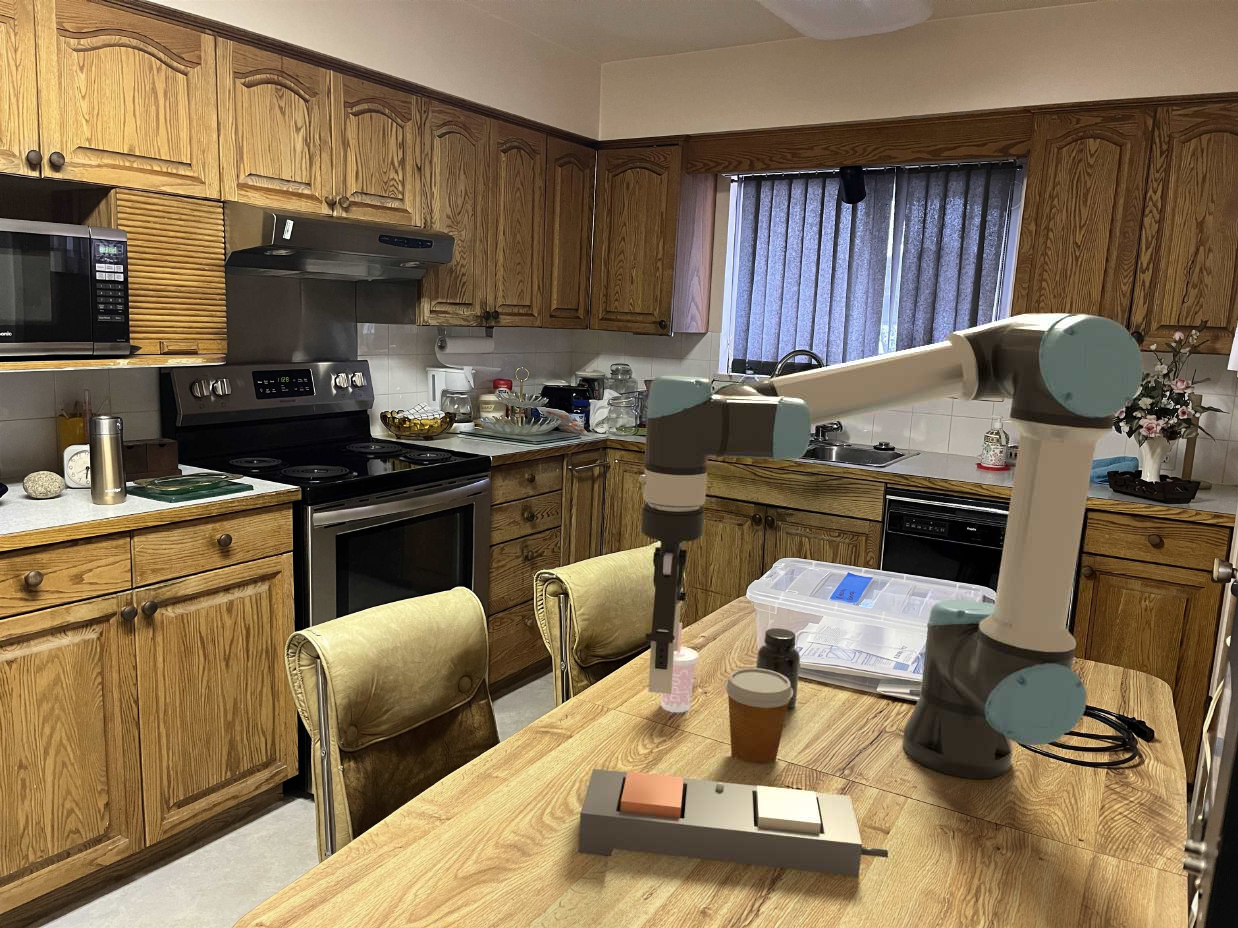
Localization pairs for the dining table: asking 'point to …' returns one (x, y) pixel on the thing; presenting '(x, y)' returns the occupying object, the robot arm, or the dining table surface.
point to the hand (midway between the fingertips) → (663, 669)
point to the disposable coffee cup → (757, 713)
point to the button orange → (652, 794)
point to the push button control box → (721, 828)
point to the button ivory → (786, 809)
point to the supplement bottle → (781, 657)
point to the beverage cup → (681, 679)
